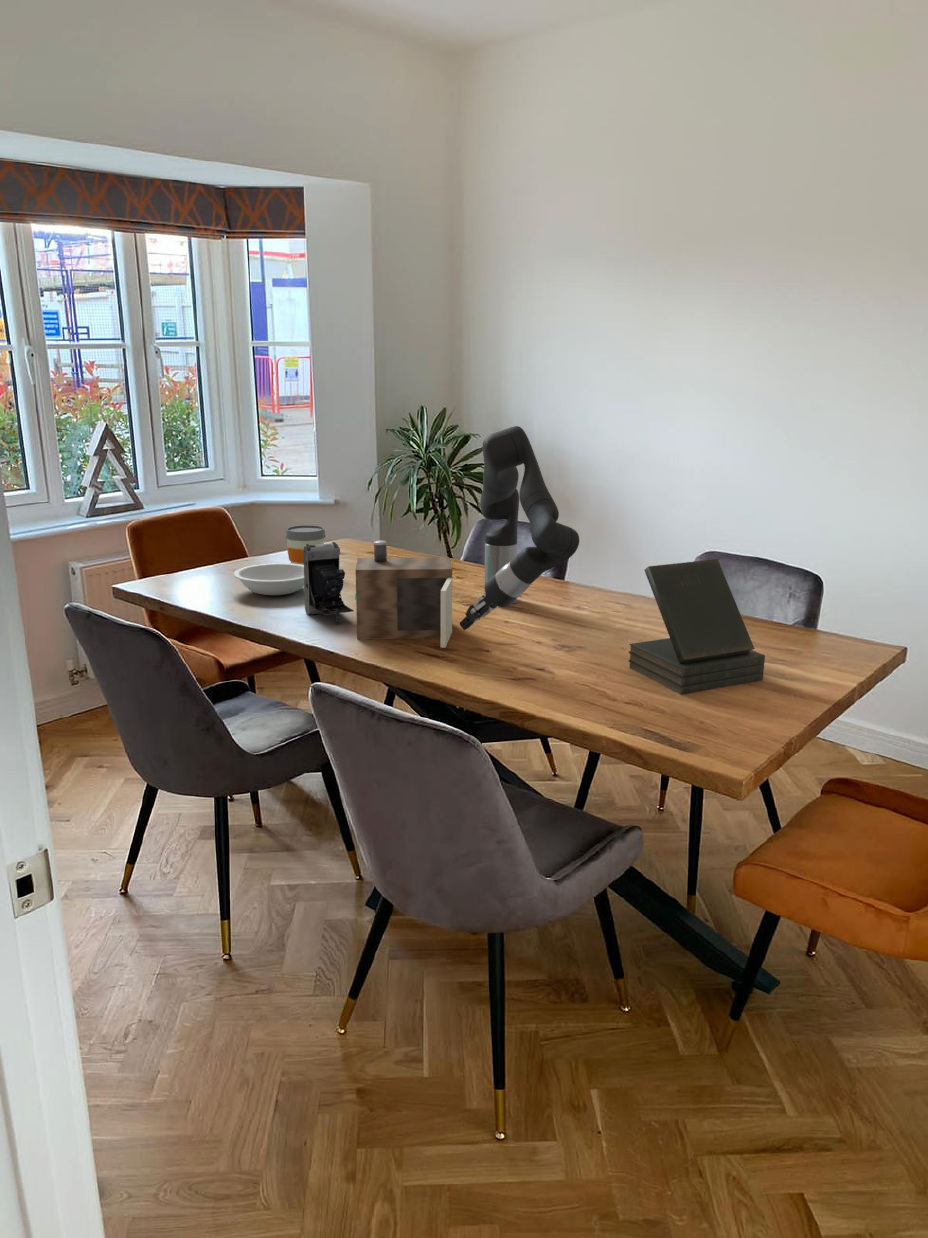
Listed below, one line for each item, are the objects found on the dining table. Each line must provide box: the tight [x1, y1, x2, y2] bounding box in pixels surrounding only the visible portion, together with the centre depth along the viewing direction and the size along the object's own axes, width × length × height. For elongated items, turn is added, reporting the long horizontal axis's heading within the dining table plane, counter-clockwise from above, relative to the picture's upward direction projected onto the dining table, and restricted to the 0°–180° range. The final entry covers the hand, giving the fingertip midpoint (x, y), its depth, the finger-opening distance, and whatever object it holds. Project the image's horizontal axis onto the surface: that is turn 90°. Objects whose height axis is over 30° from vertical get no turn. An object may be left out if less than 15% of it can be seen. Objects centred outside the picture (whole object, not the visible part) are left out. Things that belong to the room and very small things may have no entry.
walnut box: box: [355, 556, 453, 640], centre depth 248 cm, size 24×14×18 cm, turn 94°
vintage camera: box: [303, 541, 355, 625], centre depth 259 cm, size 10×16×20 cm, turn 27°
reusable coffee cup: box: [285, 524, 326, 565], centre depth 309 cm, size 13×13×15 cm
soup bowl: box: [233, 562, 304, 596], centre depth 287 cm, size 24×24×7 cm
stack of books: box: [627, 558, 766, 696], centre depth 216 cm, size 23×20×25 cm
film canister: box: [373, 540, 388, 562], centre depth 247 cm, size 3×3×5 cm
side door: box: [440, 576, 453, 649], centre depth 235 cm, size 14×1×14 cm, turn 174°
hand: (463, 626), depth 231 cm, fingers closed
